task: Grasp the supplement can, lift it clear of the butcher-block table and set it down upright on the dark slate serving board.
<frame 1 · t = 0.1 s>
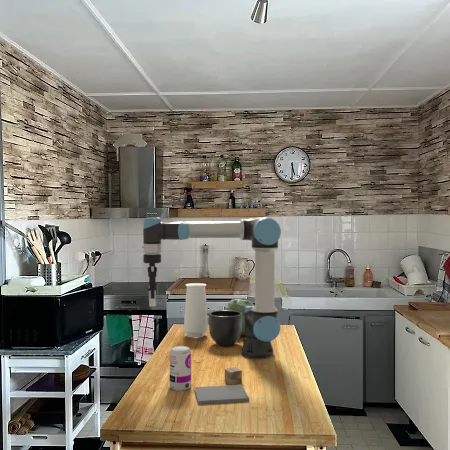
hand: (152, 303, 214), 28 cm above the table, fingers open, 13 cm apart
walnut block: (233, 382, 197), on the table
vase: (195, 336, 271), on the table
planter: (225, 345, 254), on the table
cabbage: (241, 335, 274), on the table
supplement can: (180, 388, 191), on the table
slate board: (221, 395, 182), on the table
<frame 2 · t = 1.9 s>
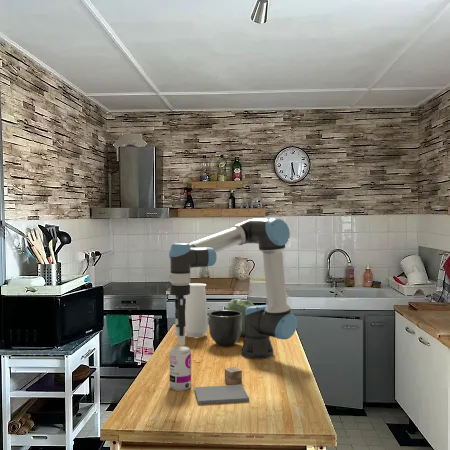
hand: (179, 339, 191), 18 cm above the table, fingers open, 13 cm apart
nothing on the table moved.
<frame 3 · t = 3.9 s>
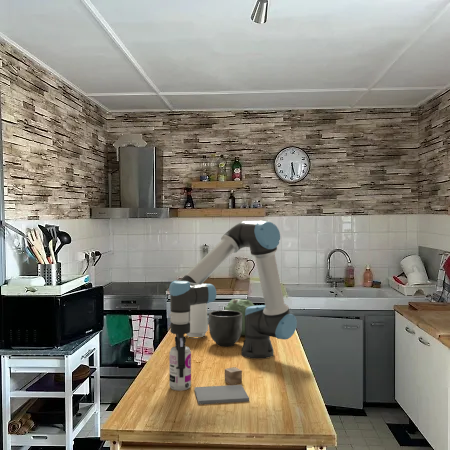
hand: (180, 381, 191), 2 cm above the table, fingers closed on supplement can, 8 cm apart
supplement can: (180, 387, 191), on the table, touching gripper
everything else where it was.
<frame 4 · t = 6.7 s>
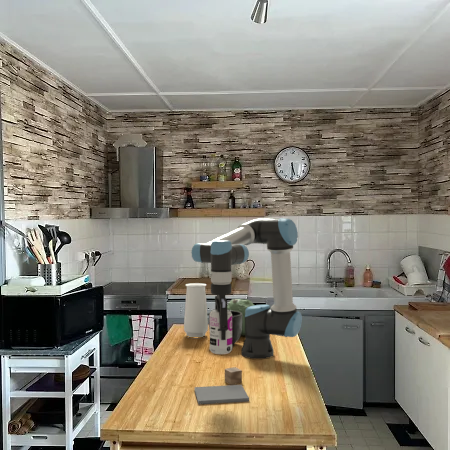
hand: (221, 345, 182), 18 cm above the table, fingers closed on supplement can, 8 cm apart
supplement can: (220, 352, 182), point 16 cm above the table, touching gripper
everything else where it was.
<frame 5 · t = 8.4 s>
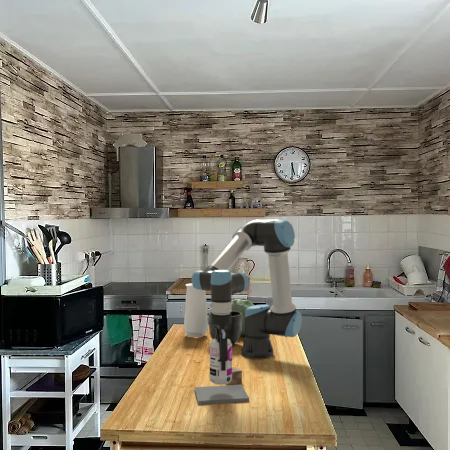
hand: (220, 375, 182), 8 cm above the table, fingers closed on supplement can, 8 cm apart
supplement can: (220, 381, 182), point 5 cm above the table, touching gripper
everything else where it was.
when the fingers open (5 cm above the table, at t = 9.5 s): supplement can drops 1 cm, resting on slate board.
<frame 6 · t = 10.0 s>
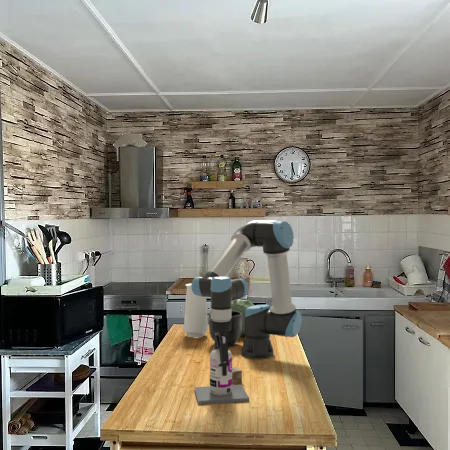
hand: (221, 377, 182), 7 cm above the table, fingers open, 13 cm apart
supplement can: (220, 392, 183), point 1 cm above the table, touching slate board
everything else where it was.
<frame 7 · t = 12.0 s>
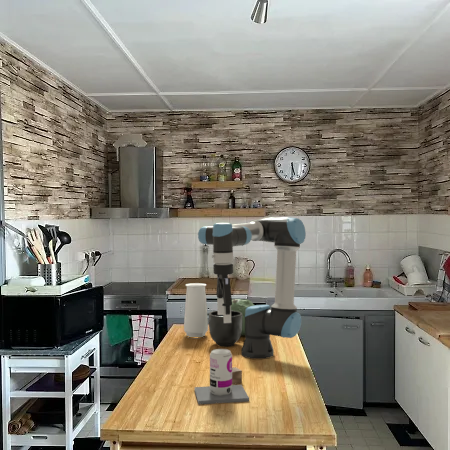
hand: (224, 318, 192), 26 cm above the table, fingers open, 13 cm apart
nothing on the table moved.
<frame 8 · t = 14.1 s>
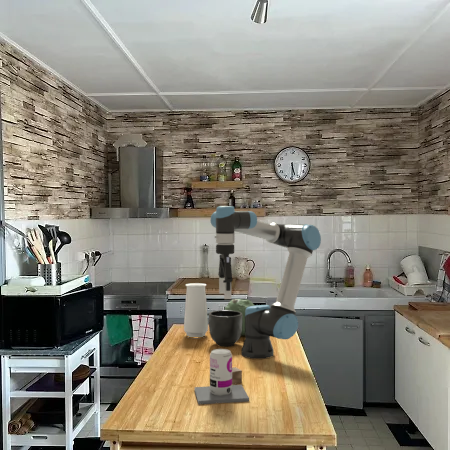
hand: (225, 296, 204), 33 cm above the table, fingers open, 13 cm apart
nothing on the table moved.
at the end: supplement can inside the target area on the slate board (0.1 cm from its centre), point 1.0 cm above the slate board's base; supplement can tilted 0°; the gripper is holding nothing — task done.
